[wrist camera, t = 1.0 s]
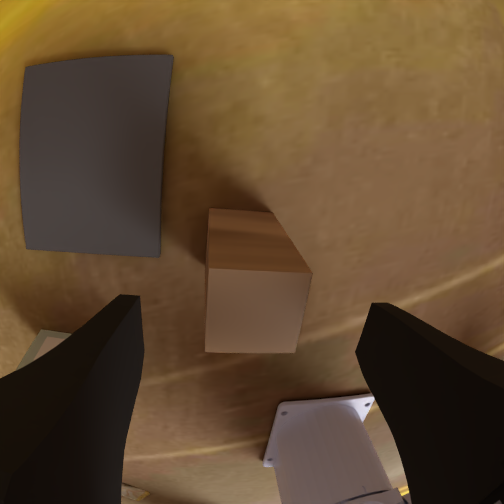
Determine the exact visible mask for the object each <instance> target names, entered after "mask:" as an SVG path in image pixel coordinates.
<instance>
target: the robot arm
mask: <svg viewBox="0 0 504 504" xmlns="http://www.w3.org/2000/svg"><path fill="white" fill-rule="evenodd" d="M355 353H356V356H357V359H358V362H359V365H360V368H361V371H362V374H363V376H364V378H365V381H366V383H367V385H368V387H369V388H370V390H371V392H372V394H362V395H355V396H346V397H337V398H328V399H317V400H304V401H288V402H282V403H280V404H279V405H278V408H277V412H276V416H275V419H274V423H273V427H272V431H271V434H270V438H269V441H268V445H267V448H266V452H265V455H264V459H263V466H264V467H274V469H275V474H276V479H277V484H278V488H279V493H280V498H281V502H282V504H504V361H503V360H500V359H497V358H495V357H492V356H490V355H487V354H485V353H483V352H480V351H478V350H476V349H474V348H471V347H469V346H467V345H465V344H463V343H461V342H460V341H458V340H456V339H454V338H452V337H450V336H448V335H446V334H445V333H443V332H441V331H439V330H438V329H436V328H434V327H432V326H431V325H429V324H427V323H425V322H424V321H422V320H420V319H418V318H417V317H415V316H413V315H411V314H410V313H408V312H406V311H404V310H402V309H400V308H398V307H396V306H394V305H392V304H389V303H371V307H370V310H369V313H368V316H367V319H366V322H365V325H364V328H363V331H362V334H361V337H360V340H359V343H358V345H357V348H356V351H355ZM143 358H144V341H143V330H142V317H141V303H140V296H135V295H122V294H120V295H119V296H117V297H116V298H115V299H114V300H112V301H111V302H110V303H109V304H108V305H107V306H106V307H104V308H103V309H102V310H101V311H100V312H99V313H97V314H96V315H95V316H94V317H93V318H91V319H90V320H89V321H88V322H87V323H86V324H84V325H83V326H82V327H81V328H79V329H78V330H77V331H75V332H74V333H73V334H72V335H70V336H69V337H68V338H66V339H65V340H64V341H62V342H61V343H60V344H58V345H57V346H56V347H54V348H53V349H51V350H50V351H48V352H47V353H45V354H44V355H42V356H41V357H39V358H37V359H36V360H34V361H32V362H31V363H29V364H27V365H26V366H24V367H22V368H20V369H18V370H16V371H14V372H12V373H10V374H8V375H6V376H4V377H2V378H0V504H121V488H122V471H123V459H124V449H125V443H126V438H127V433H128V429H129V425H130V421H131V416H132V412H133V408H134V404H135V400H136V396H137V392H138V388H139V384H140V380H141V374H142V366H143ZM374 399H375V400H376V402H377V404H378V406H379V408H380V410H381V412H382V414H383V416H384V418H385V420H386V422H387V424H388V426H389V428H390V430H391V432H392V435H393V437H394V440H395V443H396V446H397V448H398V451H399V454H400V457H401V461H402V464H403V468H404V472H405V475H406V479H407V483H408V488H409V493H408V494H406V495H404V496H401V494H400V492H399V490H398V488H394V489H393V488H392V485H391V483H390V481H389V479H388V476H387V474H386V472H385V470H384V468H383V466H382V463H381V461H380V459H379V457H378V455H377V452H376V450H375V448H374V446H373V444H372V442H371V440H370V437H369V435H368V433H367V431H366V429H365V427H364V425H363V421H364V419H365V417H366V415H367V413H368V411H369V409H370V407H371V405H372V403H373V401H374Z"/></svg>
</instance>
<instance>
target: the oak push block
mask: <svg viewBox="0 0 504 504" xmlns="http://www.w3.org/2000/svg"><path fill="white" fill-rule="evenodd" d="M312 274H313V273H312V271H311V270H310V268H309V267H308V265H307V264H306V262H305V261H304V259H303V258H302V256H301V255H300V253H299V252H298V250H297V248H296V247H295V245H294V244H293V242H292V241H291V239H290V238H289V236H288V235H287V233H286V232H285V230H284V229H283V227H282V226H281V224H280V223H279V221H278V220H277V218H276V217H275V215H274V214H273V213H272V212H260V211H247V210H233V209H218V208H209V218H208V232H207V247H206V264H205V352H216V353H295V350H296V346H297V342H298V338H299V333H300V329H301V325H302V320H303V316H304V311H305V307H306V302H307V298H308V293H309V288H310V283H311V279H312Z"/></svg>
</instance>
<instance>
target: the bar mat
mask: <svg viewBox="0 0 504 504" xmlns="http://www.w3.org/2000/svg"><path fill="white" fill-rule="evenodd" d="M173 59H174V57H173V55H124V56H107V57H94V58H83V59H74V60H66V61H59V62H52V63H46V64H40V65H34V66H28V67H26V68H25V75H24V83H23V93H22V104H21V120H20V188H21V204H22V216H23V226H24V234H25V242H26V249H31V250H46V251H60V252H75V253H91V254H106V255H123V256H139V257H156V258H159V257H160V249H161V201H162V178H163V161H164V146H165V133H166V121H167V110H168V101H169V91H170V83H171V74H172V66H173Z"/></svg>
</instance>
